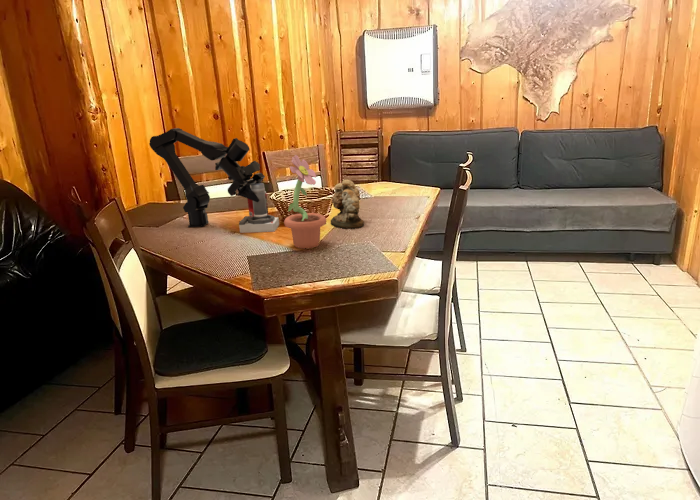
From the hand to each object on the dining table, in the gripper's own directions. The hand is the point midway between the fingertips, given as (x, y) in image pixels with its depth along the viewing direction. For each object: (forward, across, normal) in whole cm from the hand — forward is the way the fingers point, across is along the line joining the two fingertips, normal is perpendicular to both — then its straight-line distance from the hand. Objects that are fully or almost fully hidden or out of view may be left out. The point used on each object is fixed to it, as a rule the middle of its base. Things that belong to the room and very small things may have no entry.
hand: (262, 199), depth 187 cm
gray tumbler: (+4, 0, +6) cm, 7 cm away
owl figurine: (+28, +13, -12) cm, 33 cm away
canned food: (0, +15, +16) cm, 22 cm away
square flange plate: (+6, 0, +9) cm, 11 cm away
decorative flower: (+26, -18, -10) cm, 33 cm away
